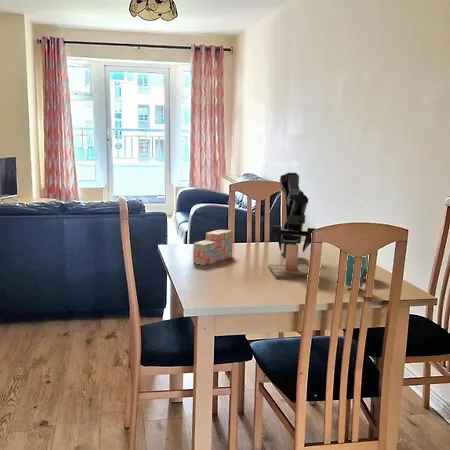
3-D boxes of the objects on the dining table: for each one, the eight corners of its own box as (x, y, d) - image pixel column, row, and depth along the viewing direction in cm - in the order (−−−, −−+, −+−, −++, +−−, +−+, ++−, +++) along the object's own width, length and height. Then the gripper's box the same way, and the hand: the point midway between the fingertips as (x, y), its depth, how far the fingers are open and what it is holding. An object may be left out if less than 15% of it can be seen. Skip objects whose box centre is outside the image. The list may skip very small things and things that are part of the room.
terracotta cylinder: (282, 268, 215) (283, 244, 213) (293, 267, 217) (294, 243, 215) (289, 271, 210) (290, 246, 209) (299, 270, 212) (300, 245, 211)
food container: (375, 283, 201) (376, 257, 200) (358, 281, 203) (360, 256, 201) (372, 274, 213) (374, 250, 211) (357, 273, 214) (358, 249, 213)
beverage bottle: (351, 292, 189) (355, 237, 185) (340, 287, 195) (343, 234, 191) (366, 290, 191) (370, 236, 188) (355, 285, 197) (358, 233, 194)
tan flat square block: (268, 268, 221) (268, 264, 220) (305, 267, 222) (305, 264, 222) (275, 278, 205) (275, 274, 205) (315, 278, 207) (316, 274, 206)
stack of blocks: (204, 266, 222) (205, 237, 220) (192, 264, 226) (193, 236, 223) (232, 256, 240) (232, 230, 238) (220, 254, 243) (221, 228, 241)
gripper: (272, 206, 215) (266, 237, 207) (318, 208, 210) (314, 241, 202) (275, 222, 224) (269, 252, 216) (319, 224, 219) (315, 256, 211)
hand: (291, 250), depth 211 cm, fingers open, 9 cm apart
